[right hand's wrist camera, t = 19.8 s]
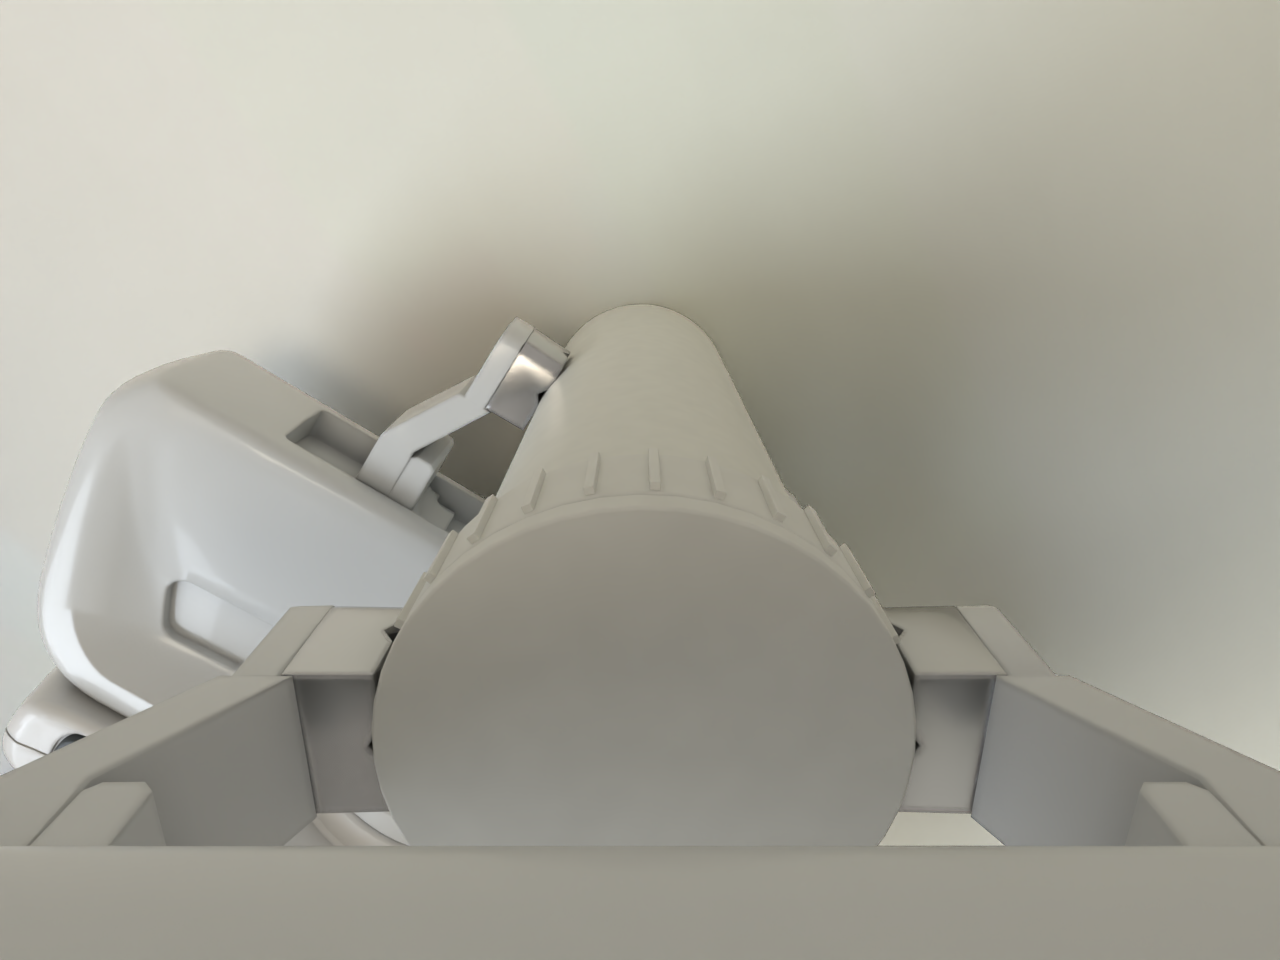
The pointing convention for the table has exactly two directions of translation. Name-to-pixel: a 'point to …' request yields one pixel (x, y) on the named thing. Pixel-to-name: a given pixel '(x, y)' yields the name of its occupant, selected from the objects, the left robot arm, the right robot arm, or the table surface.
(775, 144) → the table surface
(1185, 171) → the table surface
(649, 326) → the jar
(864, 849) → the right robot arm
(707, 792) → the lid
